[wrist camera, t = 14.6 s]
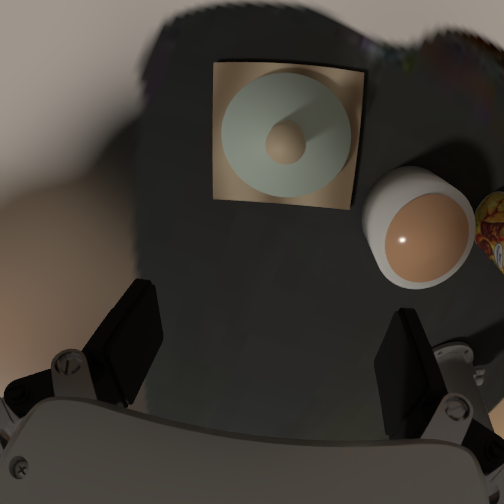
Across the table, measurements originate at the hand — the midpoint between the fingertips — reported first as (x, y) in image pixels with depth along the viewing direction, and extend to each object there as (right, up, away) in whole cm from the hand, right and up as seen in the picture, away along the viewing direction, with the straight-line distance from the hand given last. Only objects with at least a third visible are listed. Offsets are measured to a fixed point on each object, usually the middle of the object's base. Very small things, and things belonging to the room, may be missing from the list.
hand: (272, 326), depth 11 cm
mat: (+2, +14, +16) cm, 22 cm away
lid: (+2, +14, +16) cm, 21 cm away
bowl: (+16, +7, +19) cm, 26 cm away
